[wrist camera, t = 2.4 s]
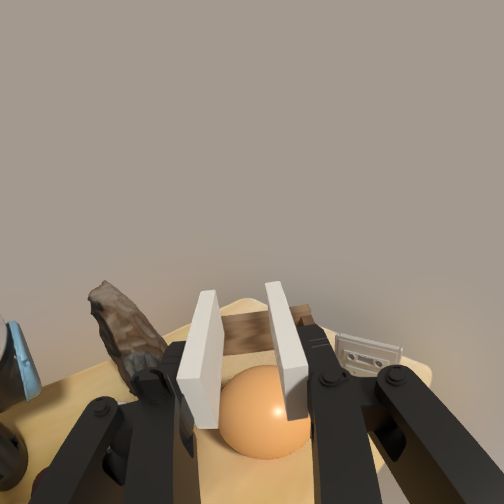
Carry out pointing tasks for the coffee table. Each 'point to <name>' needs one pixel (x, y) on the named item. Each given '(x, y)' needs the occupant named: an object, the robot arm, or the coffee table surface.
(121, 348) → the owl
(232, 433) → the ball
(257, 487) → the coffee table surface
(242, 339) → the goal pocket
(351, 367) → the cassette
